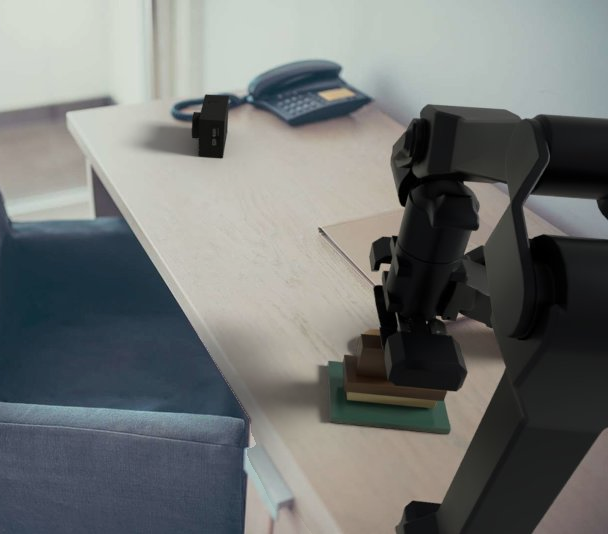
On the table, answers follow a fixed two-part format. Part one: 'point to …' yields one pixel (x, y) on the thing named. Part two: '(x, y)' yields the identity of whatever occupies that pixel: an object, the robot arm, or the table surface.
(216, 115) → the digital camera
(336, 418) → the tile
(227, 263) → the table surface
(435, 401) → the brush
